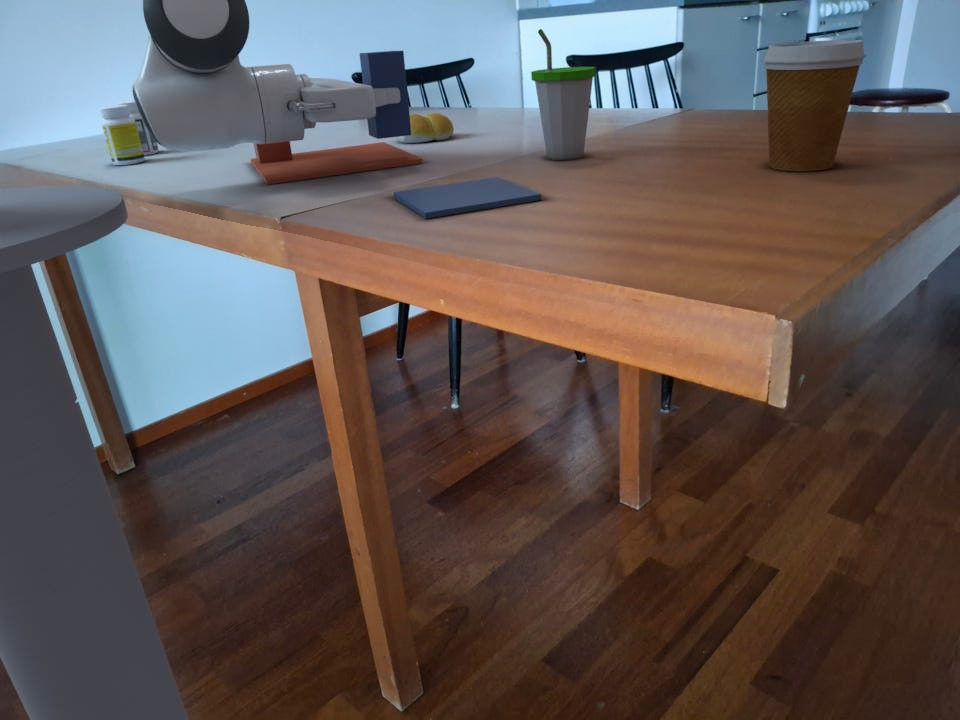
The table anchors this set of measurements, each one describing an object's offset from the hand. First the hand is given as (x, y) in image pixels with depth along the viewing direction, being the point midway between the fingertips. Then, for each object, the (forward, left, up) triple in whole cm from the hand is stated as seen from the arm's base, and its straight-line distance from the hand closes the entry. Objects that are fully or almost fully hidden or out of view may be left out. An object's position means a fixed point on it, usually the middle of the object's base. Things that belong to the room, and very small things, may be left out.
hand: (392, 93), depth 92 cm
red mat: (-8, +7, -9) cm, 14 cm away
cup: (+18, -12, -9) cm, 24 cm away
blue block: (-1, 0, -5) cm, 5 cm away
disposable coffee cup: (+34, -35, -9) cm, 50 cm away
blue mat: (-1, -26, -9) cm, 27 cm away
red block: (-15, +13, -8) cm, 21 cm away
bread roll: (+9, +18, -9) cm, 22 cm away
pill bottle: (-33, +42, -9) cm, 54 cm away
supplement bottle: (-35, +33, -9) cm, 49 cm away
